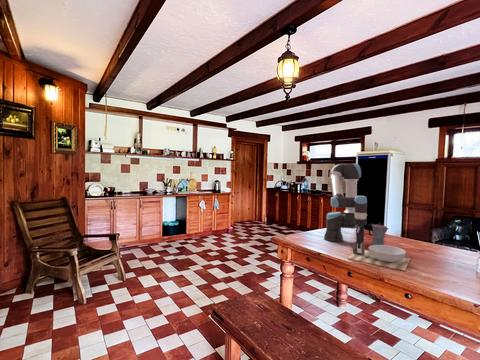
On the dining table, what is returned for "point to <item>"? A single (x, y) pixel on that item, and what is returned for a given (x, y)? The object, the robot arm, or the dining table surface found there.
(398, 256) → the serving bowl
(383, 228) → the moka pot
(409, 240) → the dining table surface
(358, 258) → the serving board
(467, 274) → the dining table surface
